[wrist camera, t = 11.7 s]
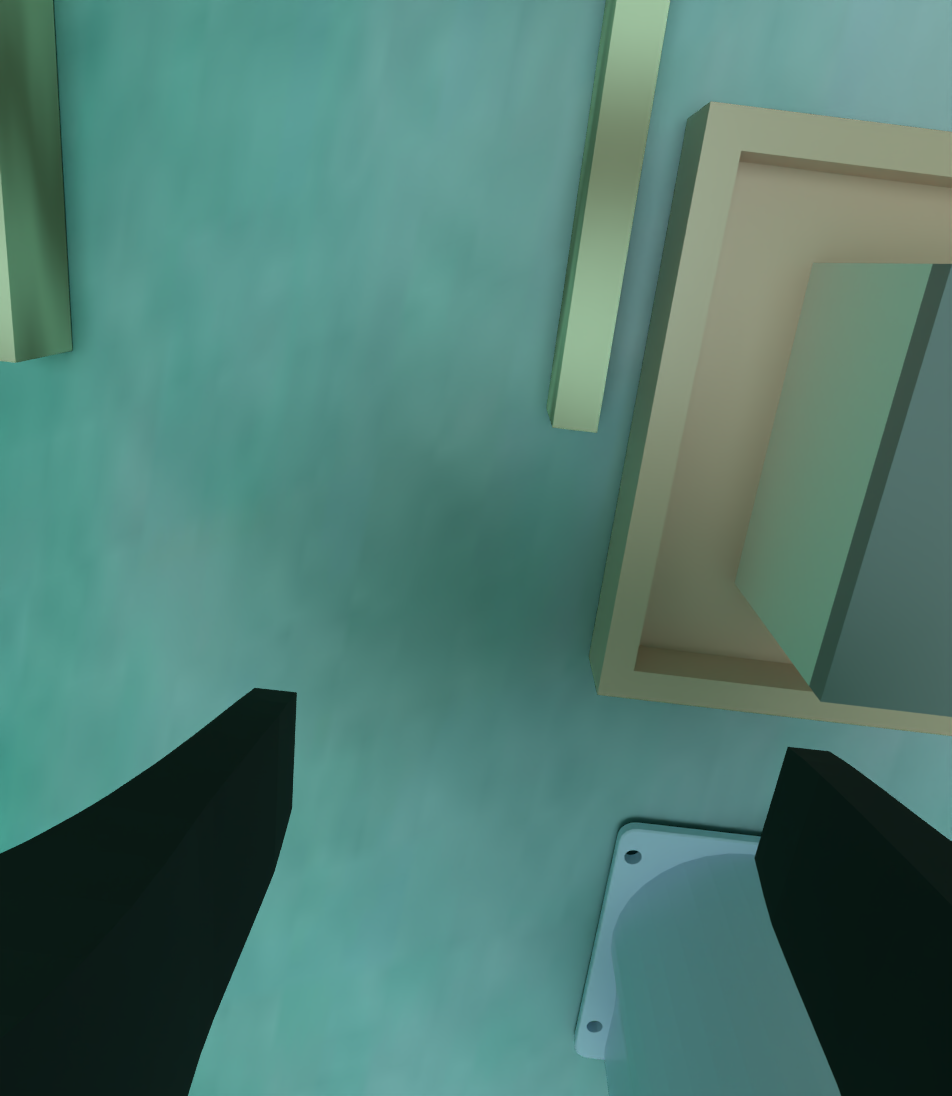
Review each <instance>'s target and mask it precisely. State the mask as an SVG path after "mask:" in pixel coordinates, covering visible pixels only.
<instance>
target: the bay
mask: <svg viewBox="0 0 952 1096" xmlns="http://www.w3.org/2000/svg"><path fill="white" fill-rule="evenodd" d="M669 4H670V0H606V4H605V10H604V17H603V24H602V31H601V38H600V45H599V52H598V58H597V65H596V72H595V79H594V86H593V93H592V99H591V106H590V113H589V120H588V127H587V134H586V141H585V147H584V154H583V161H582V168H581V175H580V182H579V188H578V195H577V202H576V209H575V216H574V223H573V230H572V236H571V243H570V250H569V257H568V264H567V271H566V277H565V284H564V291H563V298H562V305H561V312H560V319H559V325H558V332H557V339H556V346H555V353H554V360H553V366H552V373H551V380H550V387H549V394H548V401H547V411H548V415H549V418H550V421H551V424H552V427H553V428H561V429H569V430H578V431H586V432H594V433H597V429H598V423H599V417H600V412H601V406H602V400H603V394H604V388H605V382H606V376H607V370H608V364H609V358H610V353H611V347H612V341H613V335H614V329H615V323H616V317H617V311H618V305H619V299H620V294H621V288H622V282H623V276H624V270H625V264H626V258H627V252H628V246H629V240H630V234H631V229H632V223H633V217H634V211H635V205H636V199H637V193H638V187H639V181H640V175H641V170H642V164H643V158H644V152H645V146H646V140H647V134H648V128H649V122H650V116H651V111H652V105H653V99H654V93H655V87H656V81H657V75H658V69H659V63H660V57H661V52H662V46H663V40H664V34H665V28H666V22H667V16H668V10H669ZM68 351H72V336H71V318H70V300H69V282H68V263H67V245H66V227H65V209H64V191H63V173H62V155H61V136H60V118H59V100H58V82H57V64H56V46H55V28H54V10H53V0H0V361H6V362H14V363H16V362H21V361H26V360H30V359H35V358H40V357H45V356H49V355H54V354H59V353H64V352H68Z"/></svg>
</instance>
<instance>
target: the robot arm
mask: <svg viewBox="0 0 952 1096" xmlns="http://www.w3.org/2000/svg"><path fill="white" fill-rule="evenodd" d="M296 698H297V693H296V692H287V691H278V690H269V689H260V688H254V689H253V690H251V691H250V692H249V693H247V694H246V695H245V696H243V697H242V698H241V699H239V700H238V701H237V702H235V703H234V704H233V705H232V706H230V707H229V708H228V709H226V710H225V711H224V712H223V713H221V714H220V715H219V716H218V717H216V718H215V719H214V720H213V721H211V722H210V723H209V724H207V725H206V726H205V727H204V728H202V729H201V730H200V731H198V732H197V733H196V734H195V735H193V736H192V737H191V738H189V739H188V740H187V741H185V742H184V743H183V744H181V745H180V746H179V747H177V748H176V749H175V750H173V751H172V752H171V753H169V754H168V755H166V756H165V757H164V758H162V759H161V760H160V761H158V762H157V763H156V764H154V765H153V766H151V767H150V768H148V769H147V770H145V771H144V772H142V773H141V774H139V775H138V776H136V777H135V778H133V779H132V780H130V781H129V782H127V783H126V784H124V785H123V786H121V787H120V788H118V789H117V790H115V791H114V792H112V793H111V794H109V795H108V796H106V797H105V798H103V799H101V800H100V801H98V802H96V803H95V804H93V805H91V806H90V807H88V808H86V809H85V810H83V811H81V812H79V813H78V814H76V815H74V816H73V817H71V818H69V819H67V820H65V821H63V822H62V823H60V824H58V825H56V826H54V827H52V828H51V829H49V830H47V831H45V832H43V833H41V834H40V835H38V836H36V837H34V838H32V839H30V840H28V841H26V842H24V843H22V844H20V845H18V846H16V847H14V848H11V849H9V850H7V851H5V852H3V853H1V854H0V1096H188V1093H189V1090H190V1087H191V1083H192V1080H193V1077H194V1074H195V1071H196V1067H197V1064H198V1061H199V1058H200V1055H201V1052H202V1049H203V1047H204V1044H205V1041H206V1038H207V1036H208V1033H209V1030H210V1028H211V1025H212V1022H213V1019H214V1017H215V1015H216V1012H217V1010H218V1007H219V1005H220V1003H221V1000H222V998H223V995H224V993H225V991H226V988H227V986H228V983H229V981H230V979H231V976H232V974H233V971H234V969H235V966H236V964H237V962H238V959H239V957H240V954H241V952H242V950H243V947H244V945H245V942H246V940H247V938H248V935H249V933H250V930H251V928H252V926H253V923H254V921H255V918H256V916H257V913H258V911H259V909H260V906H261V904H262V901H263V899H264V896H265V894H266V891H267V889H268V887H269V884H270V882H271V879H272V877H273V874H274V871H275V868H276V864H277V861H278V857H279V854H280V850H281V847H282V843H283V840H284V836H285V832H286V829H287V825H288V821H289V817H290V814H291V810H292V794H293V770H294V746H295V722H296ZM630 850H636V851H638V853H636V854H634V855H628V854H626V852H628V851H630ZM591 1021H596V1022H591ZM574 1045H575V1051H576V1052H577V1054H579V1055H580V1056H582V1057H585V1058H591V1059H601V1060H604V1061H605V1069H606V1076H607V1084H608V1092H609V1096H952V841H950V840H949V839H947V838H946V837H945V836H943V835H942V834H941V833H939V832H938V831H937V830H936V829H934V828H933V827H932V826H930V825H929V824H928V823H926V822H925V821H924V820H922V819H921V818H920V817H918V816H917V815H916V814H914V813H913V812H912V811H910V810H909V809H908V808H907V807H905V806H904V805H903V804H901V803H900V802H899V801H897V800H896V799H895V798H893V797H892V796H891V795H890V794H888V793H887V792H886V791H884V790H883V789H882V788H880V787H879V786H878V785H876V784H875V783H874V782H872V781H871V780H870V779H868V778H867V777H866V776H864V775H863V774H862V773H860V772H859V771H858V770H856V769H855V768H853V767H852V766H851V765H849V764H848V763H846V762H845V761H843V760H842V759H840V758H839V757H837V756H836V755H834V754H832V753H831V752H829V751H821V750H812V749H803V748H794V747H788V748H787V751H786V755H785V758H784V761H783V765H782V768H781V771H780V775H779V778H778V781H777V785H776V788H775V791H774V795H773V798H772V801H771V804H770V808H769V811H768V814H767V818H766V821H765V824H764V828H763V831H762V834H761V837H760V836H751V835H742V834H734V833H725V832H716V831H707V830H699V829H690V828H681V827H672V826H664V825H655V824H646V823H638V822H636V823H629V824H626V825H624V826H623V827H622V828H621V829H620V830H619V833H618V835H617V840H616V845H615V849H614V854H613V859H612V863H611V868H610V873H609V877H608V882H607V886H606V891H605V896H604V900H603V905H602V910H601V914H600V919H599V924H598V928H597V933H596V937H595V942H594V947H593V951H592V956H591V961H590V965H589V970H588V974H587V979H586V984H585V988H584V993H583V998H582V1002H581V1007H580V1012H579V1016H578V1021H577V1025H576V1030H575V1035H574Z"/></svg>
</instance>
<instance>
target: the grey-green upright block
mask: <svg viewBox="0 0 952 1096" xmlns="http://www.w3.org/2000/svg"><path fill="white" fill-rule="evenodd" d="M735 585H736V586H737V588H738V589H739V590H740V592H741V593H742V594H743V596H744V597H745V599H746V600H747V601H748V603H749V604H750V605H751V607H752V608H753V610H754V611H755V612H756V614H757V615H758V616H759V618H760V619H761V621H762V622H763V623H764V625H765V626H766V627H767V629H768V630H769V632H770V633H771V634H772V636H773V637H774V638H775V640H776V641H777V643H778V644H779V645H780V647H781V648H782V649H783V651H784V652H785V654H786V655H787V656H788V658H789V659H790V660H791V662H792V663H793V665H794V666H795V667H796V669H797V670H798V672H799V673H800V674H801V676H802V677H803V678H804V680H805V681H806V683H807V684H808V685H809V687H810V688H811V689H812V691H813V692H814V694H815V695H816V696H817V698H818V699H819V700H820V702H827V703H836V704H845V705H853V706H862V707H870V708H879V709H887V710H896V711H905V712H913V713H922V714H930V715H939V716H947V717H952V264H903V263H813V264H812V268H811V272H810V276H809V280H808V285H807V289H806V293H805V297H804V301H803V305H802V309H801V313H800V317H799V321H798V325H797V330H796V334H795V338H794V342H793V346H792V350H791V354H790V358H789V362H788V366H787V370H786V374H785V379H784V383H783V387H782V391H781V395H780V399H779V403H778V407H777V411H776V415H775V419H774V424H773V428H772V432H771V436H770V440H769V444H768V448H767V452H766V456H765V460H764V464H763V469H762V473H761V477H760V481H759V485H758V489H757V493H756V497H755V501H754V505H753V509H752V514H751V518H750V522H749V526H748V530H747V534H746V538H745V542H744V546H743V550H742V554H741V559H740V563H739V567H738V571H737V575H736V579H735Z"/></svg>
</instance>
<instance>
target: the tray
mask: <svg viewBox="0 0 952 1096" xmlns="http://www.w3.org/2000/svg"><path fill="white" fill-rule="evenodd" d="M813 263H903V264H952V132H948V131H940V130H932V129H924V128H917V127H909V126H901V125H893V124H885V123H877V122H869V121H861V120H853V119H845V118H837V117H829V116H822V115H814V114H806V113H798V112H790V111H782V110H774V109H766V108H758V107H750V106H742V105H735V104H727V103H719V102H709V103H708V104H707V105H705V106H704V107H703V108H702V109H700V110H699V111H698V112H696V113H695V114H694V115H692V116H691V117H690V118H688V119H687V125H686V130H685V136H684V141H683V147H682V152H681V158H680V163H679V168H678V174H677V179H676V185H675V190H674V196H673V201H672V207H671V212H670V217H669V223H668V228H667V234H666V239H665V245H664V250H663V256H662V261H661V266H660V272H659V277H658V283H657V288H656V294H655V299H654V305H653V310H652V315H651V321H650V326H649V332H648V337H647V343H646V348H645V354H644V359H643V364H642V370H641V375H640V381H639V386H638V392H637V397H636V403H635V408H634V413H633V419H632V424H631V430H630V435H629V441H628V446H627V452H626V457H625V462H624V468H623V473H622V479H621V484H620V490H619V495H618V501H617V506H616V511H615V517H614V522H613V528H612V533H611V539H610V544H609V550H608V555H607V560H606V566H605V571H604V577H603V582H602V588H601V593H600V599H599V604H598V609H597V615H596V620H595V626H594V631H593V637H592V642H591V648H590V653H589V660H590V664H591V669H592V673H593V678H594V682H595V687H596V691H597V695H604V696H612V697H621V698H629V699H638V700H647V701H655V702H664V703H672V704H681V705H689V706H698V707H707V708H715V709H724V710H732V711H741V712H750V713H758V714H767V715H775V716H784V717H792V718H801V719H810V720H818V721H827V722H835V723H844V724H853V725H861V726H870V727H878V728H887V729H895V730H904V731H913V732H921V733H930V734H938V735H947V736H952V717H947V716H939V715H930V714H922V713H913V712H905V711H896V710H887V709H879V708H870V707H862V706H853V705H845V704H836V703H827V702H820V700H819V699H818V698H817V696H816V695H815V694H814V692H813V691H812V689H811V688H810V687H809V685H808V684H807V683H806V681H805V680H804V678H803V677H802V676H801V674H800V673H799V672H798V670H797V669H796V667H795V666H794V665H793V663H792V662H791V660H790V659H789V658H788V656H787V655H786V654H785V652H784V651H783V649H782V648H781V647H780V645H779V644H778V643H777V641H776V640H775V638H774V637H773V636H772V634H771V633H770V632H769V630H768V629H767V627H766V626H765V625H764V623H763V622H762V621H761V619H760V618H759V616H758V615H757V614H756V612H755V611H754V610H753V608H752V607H751V605H750V604H749V603H748V601H747V600H746V599H745V597H744V596H743V594H742V593H741V592H740V590H739V589H738V588H737V586H736V585H735V579H736V575H737V571H738V567H739V563H740V559H741V554H742V550H743V546H744V542H745V538H746V534H747V530H748V526H749V522H750V518H751V514H752V509H753V505H754V501H755V497H756V493H757V489H758V485H759V481H760V477H761V473H762V469H763V464H764V460H765V456H766V452H767V448H768V444H769V440H770V436H771V432H772V428H773V424H774V419H775V415H776V411H777V407H778V403H779V399H780V395H781V391H782V387H783V383H784V379H785V374H786V370H787V366H788V362H789V358H790V354H791V350H792V346H793V342H794V338H795V334H796V330H797V325H798V321H799V317H800V313H801V309H802V305H803V301H804V297H805V293H806V289H807V285H808V280H809V276H810V272H811V268H812V264H813Z"/></svg>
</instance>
